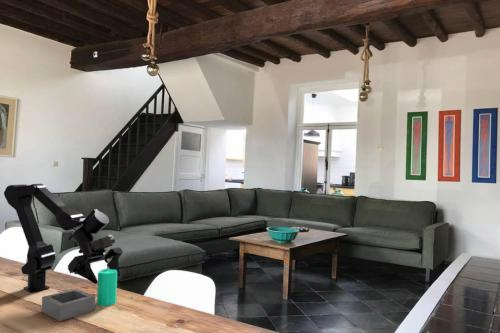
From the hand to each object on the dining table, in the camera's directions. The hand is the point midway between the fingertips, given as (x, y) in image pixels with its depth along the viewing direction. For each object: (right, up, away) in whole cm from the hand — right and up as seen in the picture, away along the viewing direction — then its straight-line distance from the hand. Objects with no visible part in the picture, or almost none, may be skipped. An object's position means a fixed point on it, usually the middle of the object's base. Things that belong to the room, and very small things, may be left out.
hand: (108, 279), depth 128 cm
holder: (-9, -7, -8) cm, 14 cm away
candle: (-1, -8, 0) cm, 8 cm away
